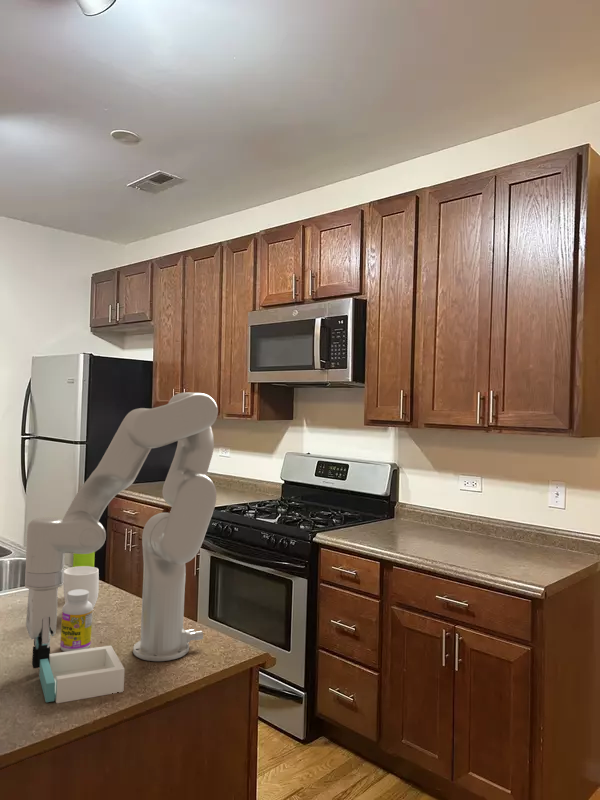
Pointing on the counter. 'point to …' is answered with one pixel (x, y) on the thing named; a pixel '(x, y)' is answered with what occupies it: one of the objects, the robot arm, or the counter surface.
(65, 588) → the mug
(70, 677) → the housing
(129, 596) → the counter surface
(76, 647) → the supplement bottle
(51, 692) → the gate
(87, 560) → the soap dispenser
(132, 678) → the counter surface
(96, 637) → the counter surface
